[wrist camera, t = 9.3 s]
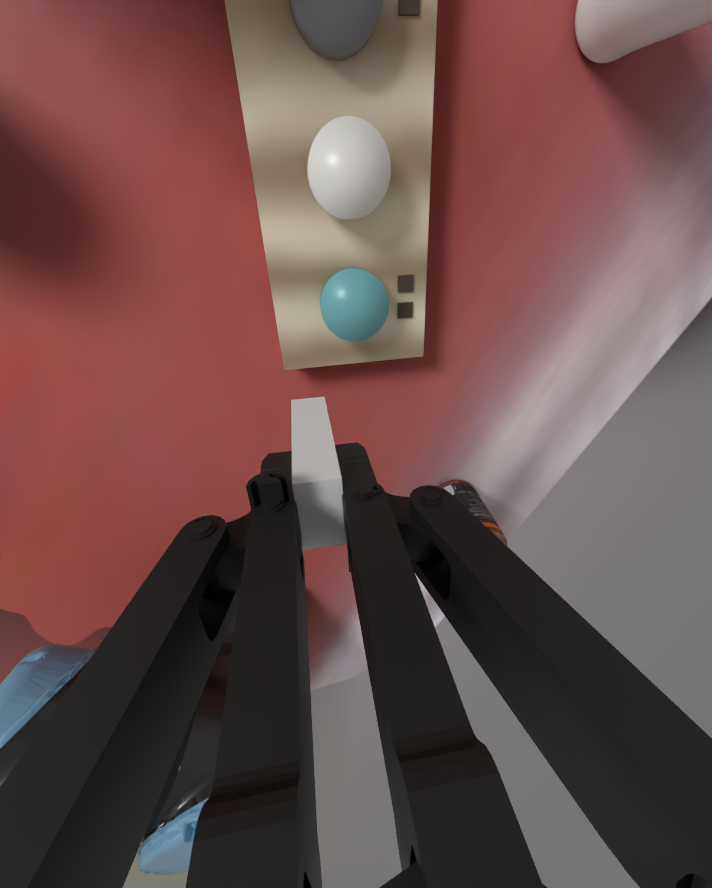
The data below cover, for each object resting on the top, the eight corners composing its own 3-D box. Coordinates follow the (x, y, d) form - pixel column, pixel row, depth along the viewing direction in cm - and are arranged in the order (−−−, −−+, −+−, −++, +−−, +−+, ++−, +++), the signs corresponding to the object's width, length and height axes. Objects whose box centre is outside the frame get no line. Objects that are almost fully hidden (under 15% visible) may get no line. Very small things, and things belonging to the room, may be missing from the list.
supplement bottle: (426, 481, 43) (463, 555, 34) (475, 473, 44) (526, 544, 34) (425, 519, 46) (460, 597, 37) (471, 512, 47) (517, 587, 37)
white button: (384, 217, 25) (391, 216, 24) (311, 221, 25) (312, 221, 23) (383, 122, 23) (390, 114, 21) (302, 125, 22) (302, 117, 21)
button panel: (414, 346, 35) (424, 357, 32) (285, 359, 34) (284, 371, 31) (425, -101, 21) (444, -149, 19) (212, -104, 20) (199, -155, 18)
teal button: (384, 331, 30) (389, 338, 29) (323, 337, 30) (324, 344, 28) (383, 264, 28) (388, 267, 26) (316, 269, 27) (317, 272, 26)
